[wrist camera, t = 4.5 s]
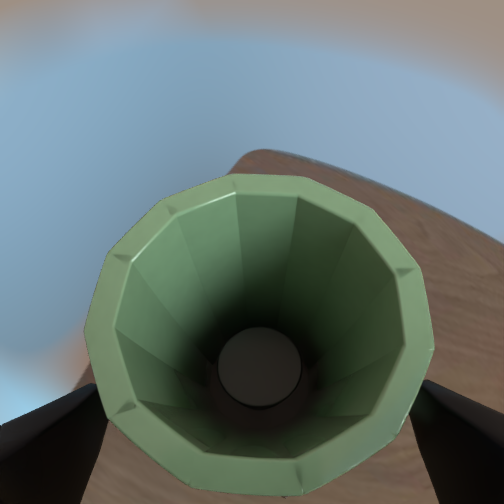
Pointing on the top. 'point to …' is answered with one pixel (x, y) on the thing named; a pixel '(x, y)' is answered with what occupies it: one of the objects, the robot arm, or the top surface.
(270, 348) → the stand
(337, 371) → the green faceted tube
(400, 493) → the top surface
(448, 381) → the top surface
